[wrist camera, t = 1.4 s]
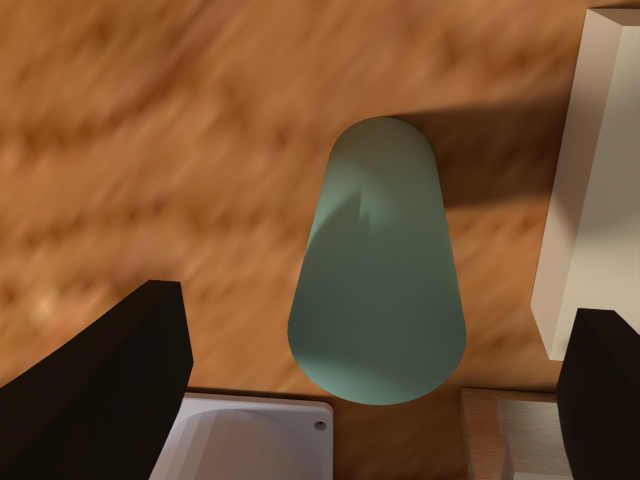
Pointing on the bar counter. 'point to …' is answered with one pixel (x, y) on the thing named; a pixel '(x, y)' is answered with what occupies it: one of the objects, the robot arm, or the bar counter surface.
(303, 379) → the bar counter surface
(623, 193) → the socket block
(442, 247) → the peg
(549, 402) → the grey angle bracket
